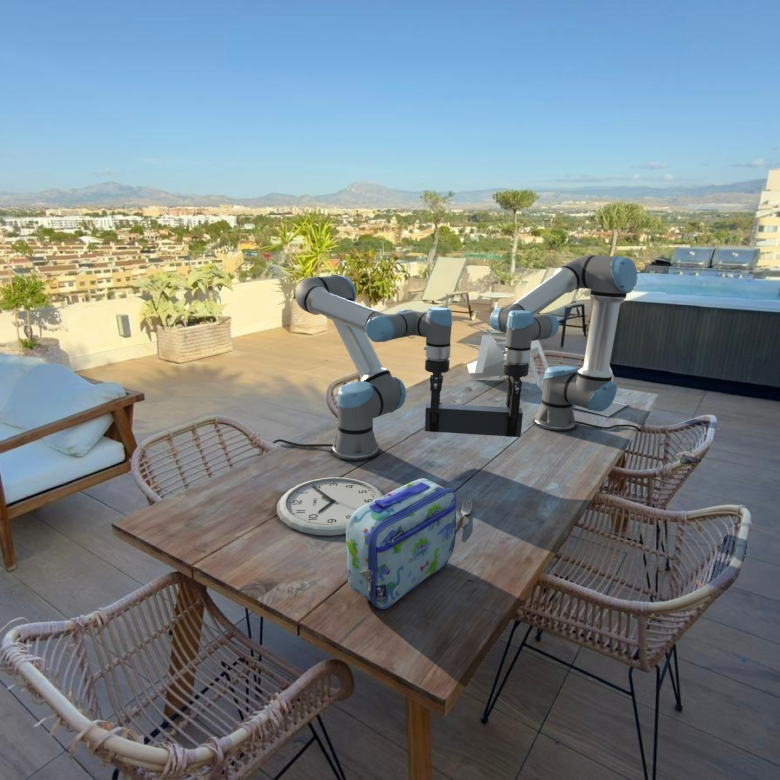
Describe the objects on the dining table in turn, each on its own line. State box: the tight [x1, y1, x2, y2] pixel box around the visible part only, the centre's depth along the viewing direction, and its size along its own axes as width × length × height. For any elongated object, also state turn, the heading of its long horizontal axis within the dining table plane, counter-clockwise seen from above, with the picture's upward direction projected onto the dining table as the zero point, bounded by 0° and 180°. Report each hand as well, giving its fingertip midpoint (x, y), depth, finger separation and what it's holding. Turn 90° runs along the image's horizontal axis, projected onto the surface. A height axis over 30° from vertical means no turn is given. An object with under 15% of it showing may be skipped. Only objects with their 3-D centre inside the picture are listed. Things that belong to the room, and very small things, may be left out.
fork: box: [455, 498, 473, 536], centre depth 136 cm, size 3×16×2 cm, turn 160°
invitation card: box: [573, 400, 628, 418], centre depth 226 cm, size 21×1×15 cm
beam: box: [424, 402, 524, 438], centre depth 166 cm, size 30×5×8 cm, turn 83°
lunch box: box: [345, 477, 457, 610], centre depth 110 cm, size 26×11×21 cm, turn 134°
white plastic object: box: [467, 334, 550, 392], centre depth 256 cm, size 37×45×31 cm
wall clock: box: [276, 476, 385, 537], centre depth 143 cm, size 30×2×30 cm
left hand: (434, 428), depth 169 cm, fingers closed on beam, 5 cm apart
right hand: (510, 432), depth 166 cm, fingers closed on beam, 5 cm apart
